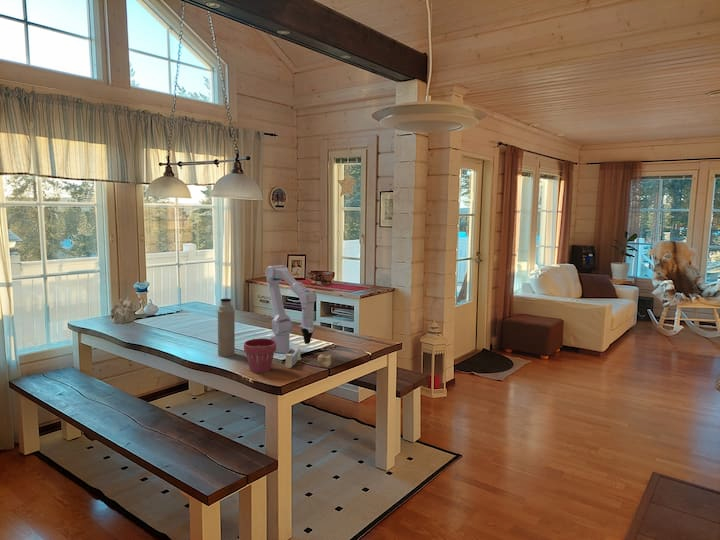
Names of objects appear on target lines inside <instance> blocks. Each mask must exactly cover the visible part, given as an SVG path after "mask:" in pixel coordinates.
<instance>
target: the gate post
mask: <svg viewBox="0 0 720 540" xmlns="http://www.w3.org/2000/svg"><path fill="white" fill-rule="evenodd" d="M295 351H298V361H301V360H302V357H301V348H295V349H294V352H295Z"/></svg>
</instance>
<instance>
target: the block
mask: <svg viewBox="0 0 720 540" xmlns="http://www.w3.org/2000/svg"><path fill="white" fill-rule="evenodd" d="M331 365H332V354H325V353H321V354H319V355H318V356H317V367H321V368H322V367H324V368H329V367H330V366H331Z"/></svg>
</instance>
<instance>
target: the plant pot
mask: <svg viewBox="0 0 720 540" xmlns="http://www.w3.org/2000/svg"><path fill="white" fill-rule="evenodd" d="M243 351H244V352H245V353H246V357H247V362H248V367H249V371H250V373H255V374H256V373H257V374H262V373H267V372H269V371H270V370H271V369H272V364H273V360H274V355H275V353H276V352H275V351H276V341H274V340H272V339H270V338H253V339H248V340H246V341H245V342H244V343H243Z"/></svg>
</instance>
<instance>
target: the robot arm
mask: <svg viewBox="0 0 720 540" xmlns="http://www.w3.org/2000/svg"><path fill="white" fill-rule="evenodd" d="M264 274H265V277H266V278H265V279H266V283H267V287H268V292H269V297H270V301H271V305H272V309H273V314H274V317H273V319H272V320H271V330H272V332H273V333H271V335H270V338H269V339H272V340H274V341H276V351H275V352H274V353H280V354H289V352H290V351H292V350H293V348H291V347H290V337H291V336H290V335H291V333H292V331H293V329H294V323H293V322H292V320H291V316H289V315H287V314H286V311H285V307H284V301H283V297H282V294H281V289H280V283H281V282H282V281H285V282H286V283H287V284H289V285H290V287H291V291H292V292H293V293H294V294H295V295H296V296H297V297H298V298H299V299H298V300H299V302H300V307H301V324H299V325H298V327H299V328H301V329H300V332H301V333H302V336H303V342H304V344H305V345H309V344H310V343H311V339H312V336H313V334H314V332H315V331H314V326H315V324H314V315H315V312H314V311H315V310H314V309H315V308H314V307H315V302H316V301H317V299H318V298H317V294H316V292H315V291H314V290H310V289H309V288H307V287H306V285H304V283H303V282H302V281H297V280H296V279H295V277H294V276H293V275H292V274H291V273H290V272H289V267H287V266H286V265H285V264H280V265H269V266H267V267H266V269H265V271H264Z"/></svg>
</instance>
